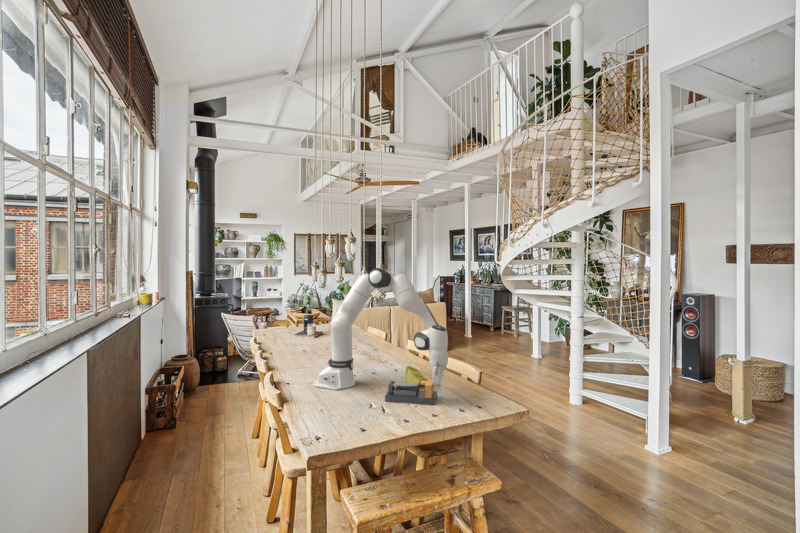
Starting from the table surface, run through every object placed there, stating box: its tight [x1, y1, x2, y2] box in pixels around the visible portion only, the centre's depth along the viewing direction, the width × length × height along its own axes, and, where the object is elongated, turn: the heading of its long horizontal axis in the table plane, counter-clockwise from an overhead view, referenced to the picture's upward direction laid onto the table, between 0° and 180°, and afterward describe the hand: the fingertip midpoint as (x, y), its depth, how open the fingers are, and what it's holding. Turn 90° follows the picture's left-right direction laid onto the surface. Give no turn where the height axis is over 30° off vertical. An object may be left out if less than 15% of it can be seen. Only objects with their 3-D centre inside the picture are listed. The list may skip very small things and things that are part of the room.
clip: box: [420, 378, 435, 398], centre depth 191 cm, size 6×10×6 cm, turn 168°
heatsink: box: [384, 380, 438, 406], centre depth 192 cm, size 24×11×8 cm, turn 78°
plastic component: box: [404, 365, 431, 387], centre depth 217 cm, size 20×7×10 cm
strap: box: [391, 382, 418, 387], centre depth 193 cm, size 14×2×1 cm, turn 78°
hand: (438, 388), depth 189 cm, fingers closed
